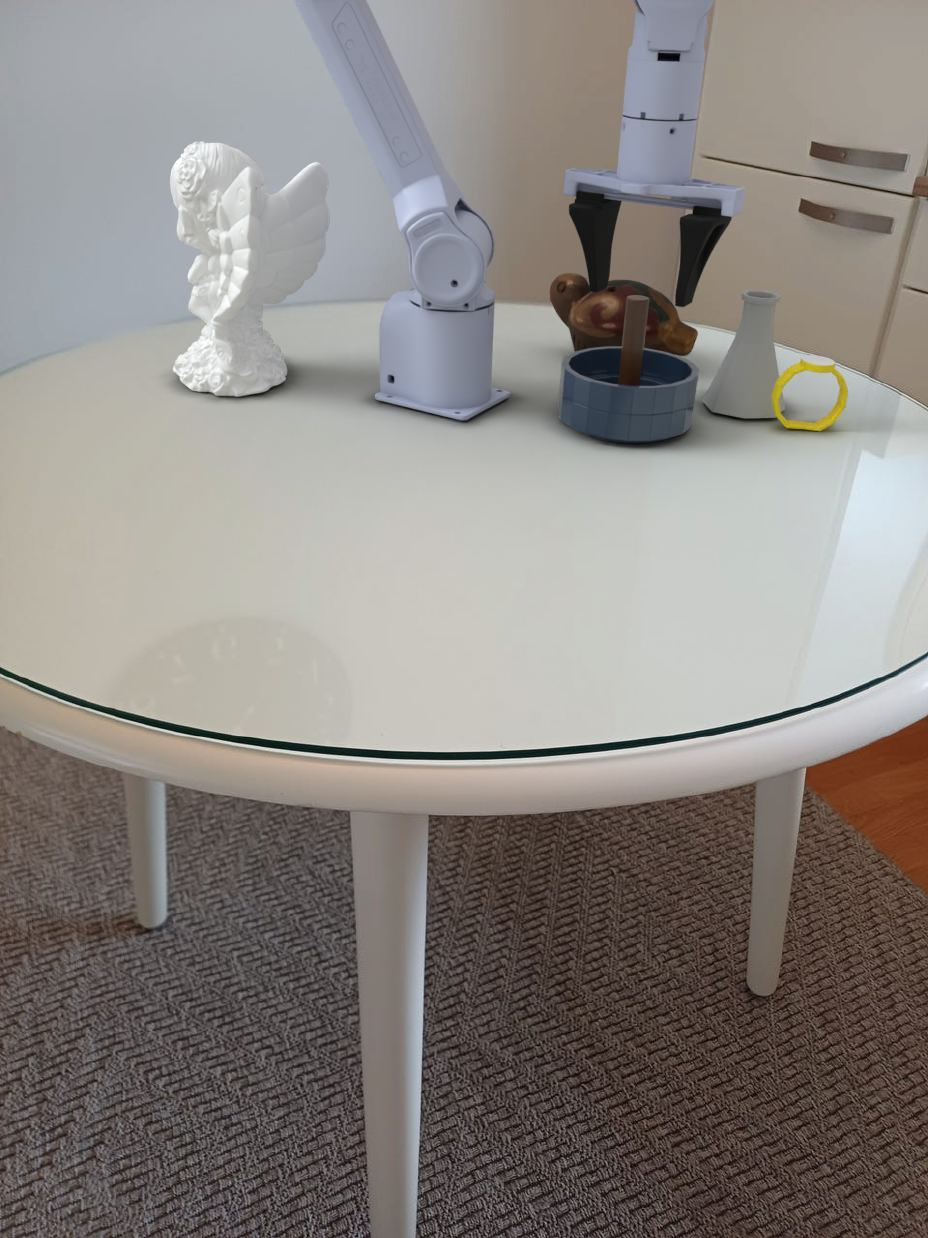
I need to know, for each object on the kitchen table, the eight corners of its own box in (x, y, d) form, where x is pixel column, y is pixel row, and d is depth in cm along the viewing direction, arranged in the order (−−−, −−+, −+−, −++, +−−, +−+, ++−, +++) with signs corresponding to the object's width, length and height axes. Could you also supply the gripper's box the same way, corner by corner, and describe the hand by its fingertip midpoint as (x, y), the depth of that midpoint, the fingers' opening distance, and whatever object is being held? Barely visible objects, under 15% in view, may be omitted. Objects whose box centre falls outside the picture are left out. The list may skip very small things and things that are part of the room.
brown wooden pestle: (596, 418, 92) (607, 298, 86) (614, 406, 94) (626, 289, 89) (636, 427, 90) (649, 305, 85) (653, 415, 93) (667, 296, 88)
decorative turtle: (553, 338, 114) (564, 259, 110) (696, 366, 110) (713, 286, 106) (527, 359, 105) (538, 275, 102) (680, 390, 102) (698, 304, 98)
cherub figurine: (233, 347, 108) (215, 127, 98) (342, 366, 104) (335, 139, 94) (148, 384, 98) (118, 143, 88) (265, 407, 93) (248, 156, 83)
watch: (771, 432, 91) (783, 363, 88) (764, 421, 94) (776, 353, 91) (842, 435, 91) (857, 365, 88) (833, 423, 94) (847, 355, 91)
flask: (786, 425, 93) (808, 307, 88) (701, 417, 94) (717, 300, 89) (782, 398, 99) (802, 286, 94) (702, 391, 100) (717, 280, 95)
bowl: (534, 428, 91) (538, 370, 88) (593, 393, 99) (598, 338, 96) (659, 458, 86) (666, 397, 83) (710, 418, 94) (718, 361, 91)
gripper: (551, 113, 83) (540, 292, 90) (732, 129, 77) (705, 321, 84) (591, 106, 89) (578, 276, 95) (764, 121, 82) (736, 302, 89)
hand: (640, 296), depth 90 cm, fingers open, 7 cm apart
